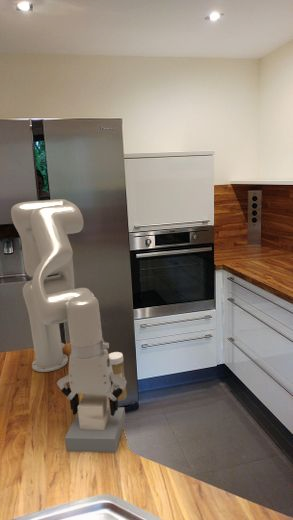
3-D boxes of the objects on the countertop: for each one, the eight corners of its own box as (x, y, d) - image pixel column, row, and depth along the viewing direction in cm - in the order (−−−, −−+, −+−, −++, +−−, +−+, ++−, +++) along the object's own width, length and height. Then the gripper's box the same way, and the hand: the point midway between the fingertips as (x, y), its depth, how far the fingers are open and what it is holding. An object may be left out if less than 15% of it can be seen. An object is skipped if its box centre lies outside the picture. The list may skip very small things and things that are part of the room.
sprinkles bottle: (129, 394, 105) (125, 352, 103) (122, 402, 101) (118, 359, 99) (115, 391, 107) (111, 350, 104) (108, 400, 103) (104, 357, 100)
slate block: (82, 420, 96) (80, 407, 95) (125, 420, 94) (124, 407, 93) (66, 453, 84) (64, 438, 83) (116, 454, 82) (114, 439, 82)
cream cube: (87, 413, 92) (85, 392, 91) (110, 414, 91) (107, 393, 90) (80, 429, 86) (77, 407, 85) (104, 430, 85) (101, 407, 84)
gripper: (126, 340, 87) (132, 403, 90) (58, 341, 89) (67, 402, 93) (119, 354, 79) (126, 422, 83) (46, 355, 82) (56, 420, 85)
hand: (95, 411), depth 88 cm, fingers open, 9 cm apart
